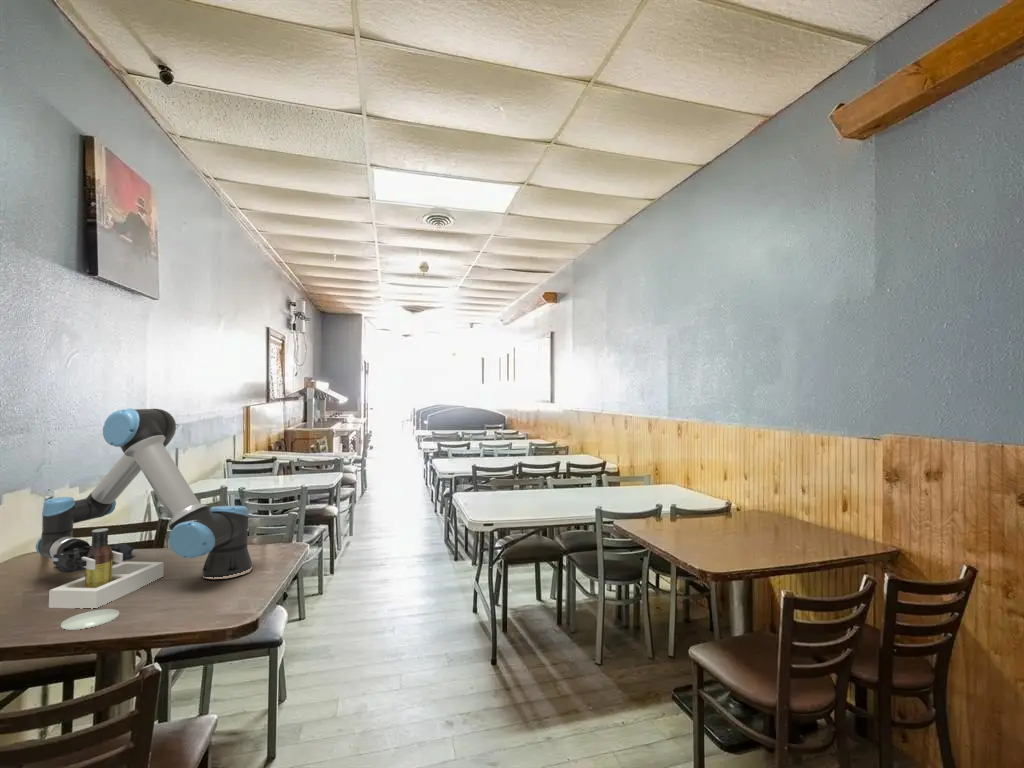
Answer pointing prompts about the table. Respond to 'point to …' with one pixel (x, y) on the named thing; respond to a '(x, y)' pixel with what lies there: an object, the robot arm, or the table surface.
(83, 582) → the condiment caddy
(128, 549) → the dark slate chunk
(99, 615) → the coaster
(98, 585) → the sauce bottle
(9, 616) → the table surface
